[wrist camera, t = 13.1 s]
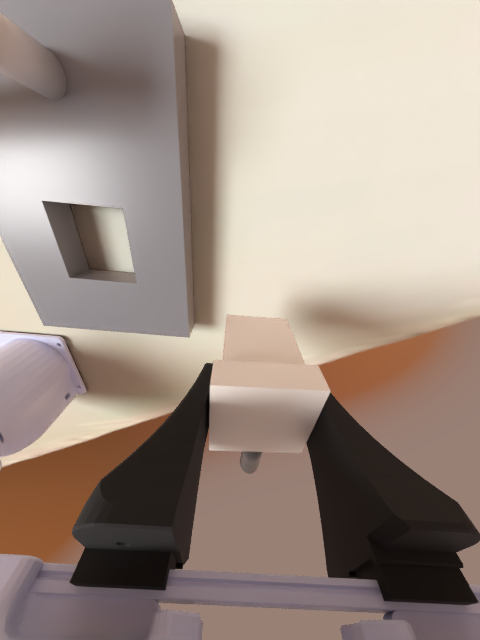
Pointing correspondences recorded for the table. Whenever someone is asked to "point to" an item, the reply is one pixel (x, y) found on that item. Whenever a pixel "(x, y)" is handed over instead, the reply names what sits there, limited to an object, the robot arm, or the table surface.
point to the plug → (262, 391)
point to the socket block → (97, 158)
